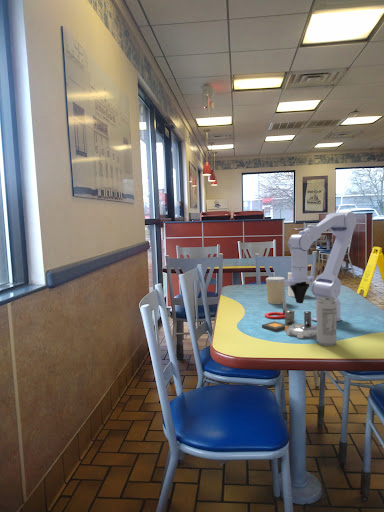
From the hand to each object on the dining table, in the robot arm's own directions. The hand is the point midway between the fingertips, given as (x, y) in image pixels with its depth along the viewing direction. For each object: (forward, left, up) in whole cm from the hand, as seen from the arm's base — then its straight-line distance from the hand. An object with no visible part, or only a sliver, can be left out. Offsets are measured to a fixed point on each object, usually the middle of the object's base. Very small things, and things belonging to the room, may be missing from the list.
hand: (299, 302), depth 138 cm
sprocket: (+4, +6, -9) cm, 12 cm away
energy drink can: (+8, +17, -10) cm, 21 cm away
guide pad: (+7, -5, -9) cm, 13 cm away
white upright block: (-44, -38, -10) cm, 59 cm away
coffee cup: (-24, -34, -10) cm, 43 cm away
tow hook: (-5, -16, -10) cm, 20 cm away
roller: (-1, -5, -9) cm, 11 cm away
